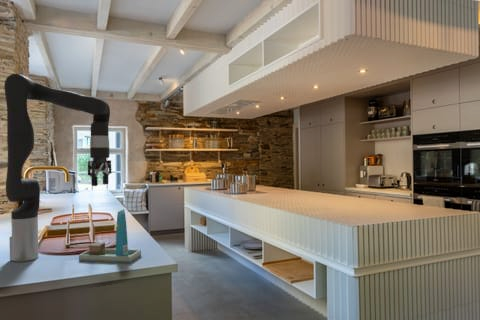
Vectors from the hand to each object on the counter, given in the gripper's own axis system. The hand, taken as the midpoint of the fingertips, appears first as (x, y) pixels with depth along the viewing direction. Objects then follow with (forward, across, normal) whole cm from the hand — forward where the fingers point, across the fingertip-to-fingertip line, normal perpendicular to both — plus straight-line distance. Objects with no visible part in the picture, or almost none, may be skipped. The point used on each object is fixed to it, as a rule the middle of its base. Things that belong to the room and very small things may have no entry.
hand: (100, 185), depth 144 cm
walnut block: (+29, -3, 0) cm, 29 cm away
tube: (+30, -3, -11) cm, 32 cm away
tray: (+30, -3, -6) cm, 31 cm away
